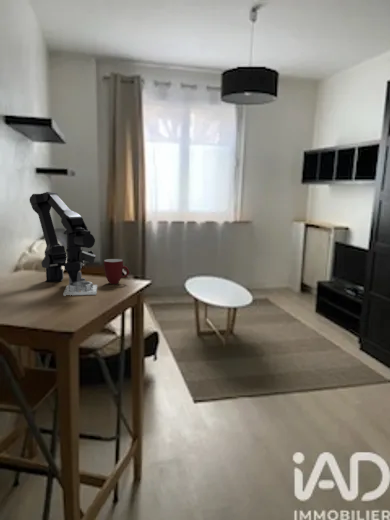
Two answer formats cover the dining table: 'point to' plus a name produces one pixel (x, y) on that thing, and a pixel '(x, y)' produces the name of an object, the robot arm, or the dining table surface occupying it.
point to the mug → (114, 270)
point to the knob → (77, 278)
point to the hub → (80, 288)
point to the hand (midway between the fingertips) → (75, 282)
